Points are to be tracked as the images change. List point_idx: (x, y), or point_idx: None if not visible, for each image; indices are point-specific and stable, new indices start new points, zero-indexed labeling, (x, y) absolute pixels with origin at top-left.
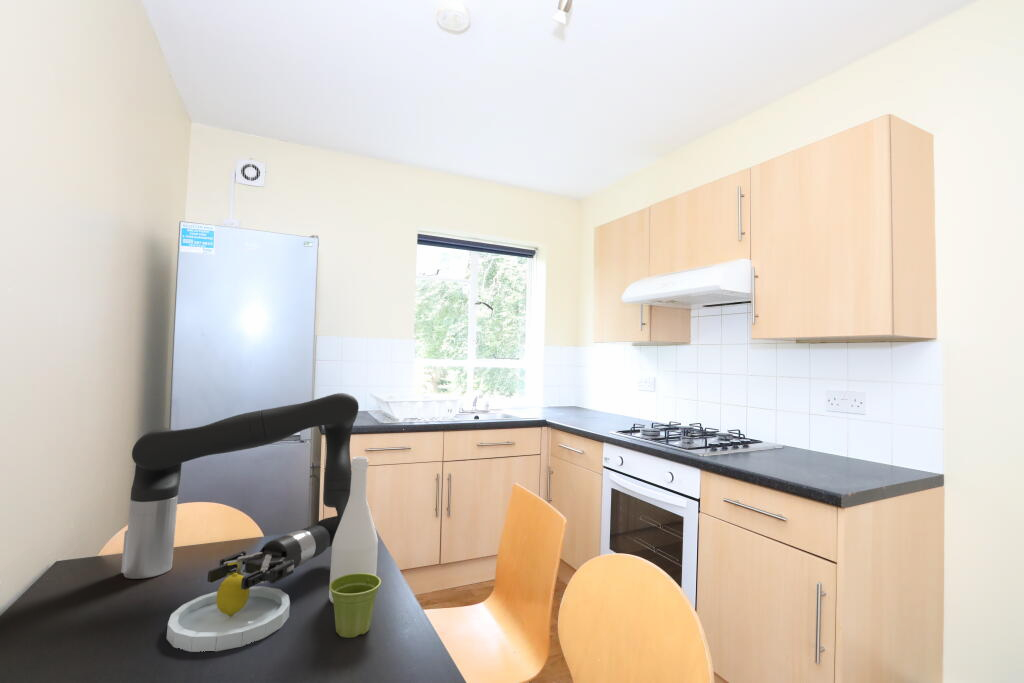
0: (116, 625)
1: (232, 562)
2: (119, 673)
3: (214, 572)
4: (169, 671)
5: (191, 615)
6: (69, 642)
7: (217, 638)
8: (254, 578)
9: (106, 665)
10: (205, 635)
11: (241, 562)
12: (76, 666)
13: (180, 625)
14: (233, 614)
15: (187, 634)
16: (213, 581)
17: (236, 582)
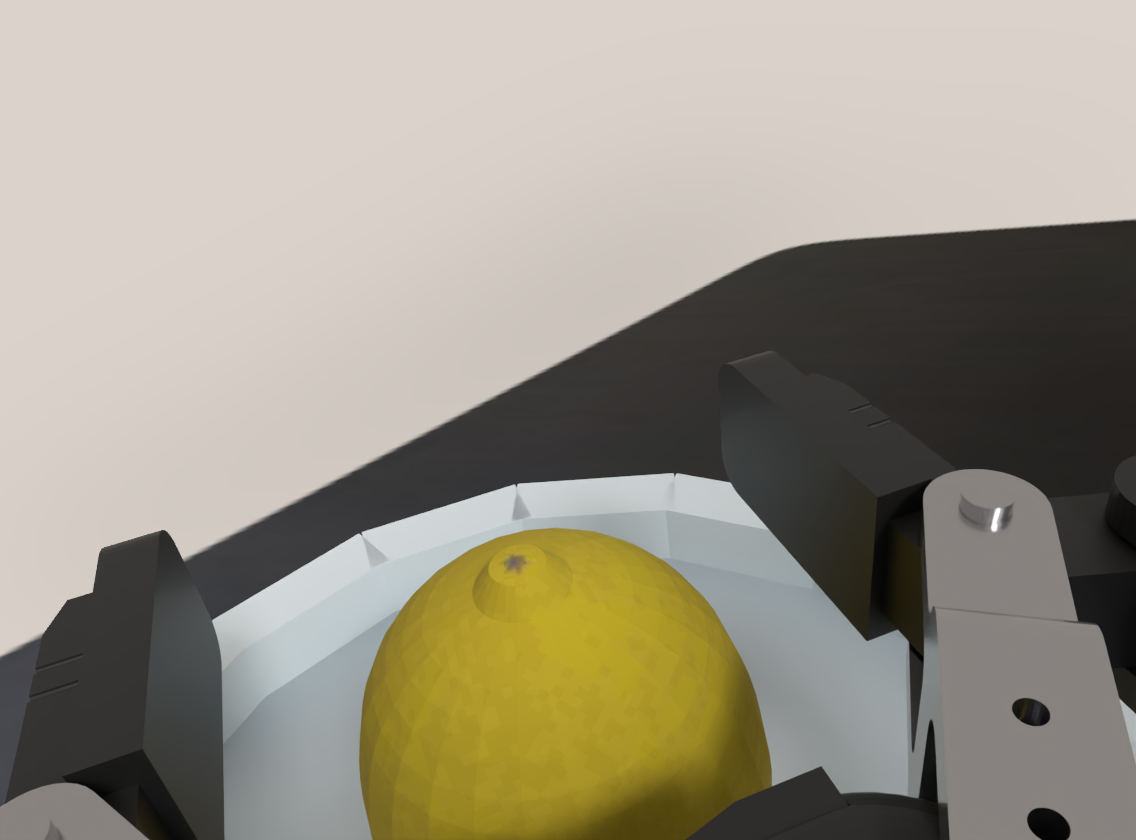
0: (1081, 416)
1: (932, 556)
2: (485, 406)
3: (743, 405)
4: (300, 515)
5: (884, 667)
6: (961, 314)
7: None
8: (39, 674)
9: (602, 383)
10: (291, 582)
11: (929, 711)
12: (685, 331)
13: (590, 514)
14: None
15: (414, 519)
16: (750, 502)
17: (403, 614)
